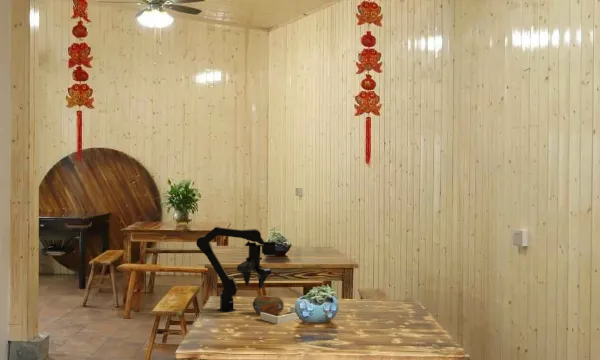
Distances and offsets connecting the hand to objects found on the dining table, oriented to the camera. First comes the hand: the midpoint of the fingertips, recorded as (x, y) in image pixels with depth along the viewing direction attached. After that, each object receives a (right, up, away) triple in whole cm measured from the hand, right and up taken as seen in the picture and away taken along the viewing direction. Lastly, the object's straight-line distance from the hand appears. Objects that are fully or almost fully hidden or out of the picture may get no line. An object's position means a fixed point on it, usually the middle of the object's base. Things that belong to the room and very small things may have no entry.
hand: (253, 287), depth 282 cm
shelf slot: (+15, -12, -13) cm, 23 cm away
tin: (+8, -12, -6) cm, 15 cm away
